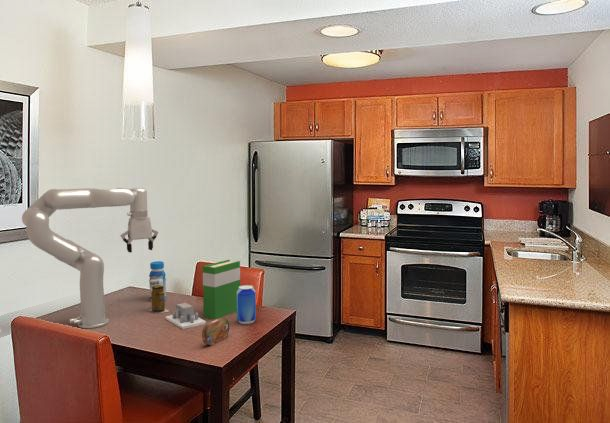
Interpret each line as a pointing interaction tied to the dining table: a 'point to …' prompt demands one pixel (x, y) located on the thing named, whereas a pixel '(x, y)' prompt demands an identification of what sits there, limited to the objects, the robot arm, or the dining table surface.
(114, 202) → the robot arm
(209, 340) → the tin
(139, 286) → the dining table surface
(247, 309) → the beer can
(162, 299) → the condiment
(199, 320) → the white peg board
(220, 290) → the hardback book
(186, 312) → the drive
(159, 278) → the beverage bottle
